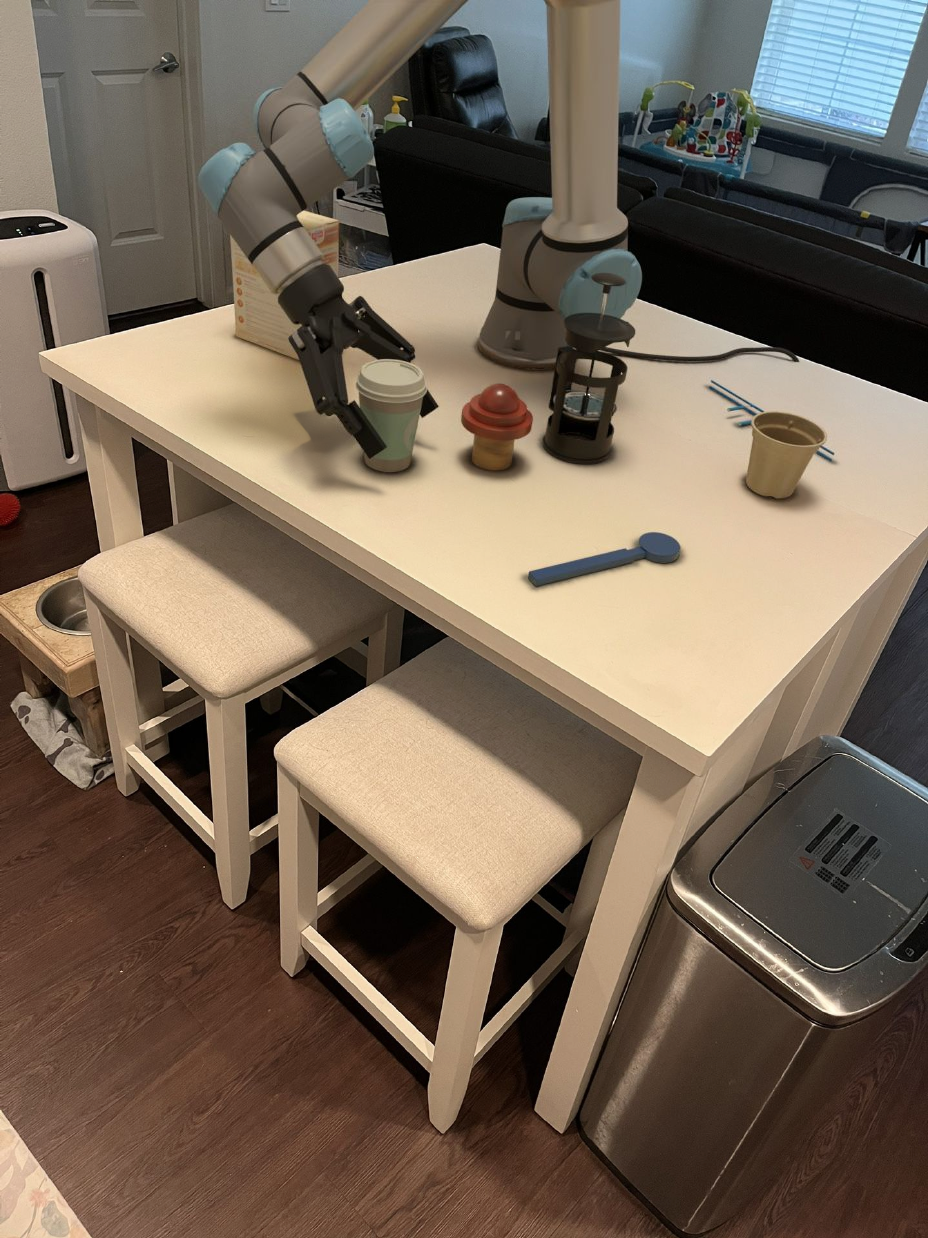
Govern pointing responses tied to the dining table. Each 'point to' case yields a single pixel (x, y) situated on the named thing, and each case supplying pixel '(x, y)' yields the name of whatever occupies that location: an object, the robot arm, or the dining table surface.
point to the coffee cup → (392, 409)
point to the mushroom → (496, 425)
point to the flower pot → (781, 451)
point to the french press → (586, 384)
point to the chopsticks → (753, 412)
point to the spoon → (611, 559)
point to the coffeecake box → (259, 305)
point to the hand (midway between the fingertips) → (405, 432)
